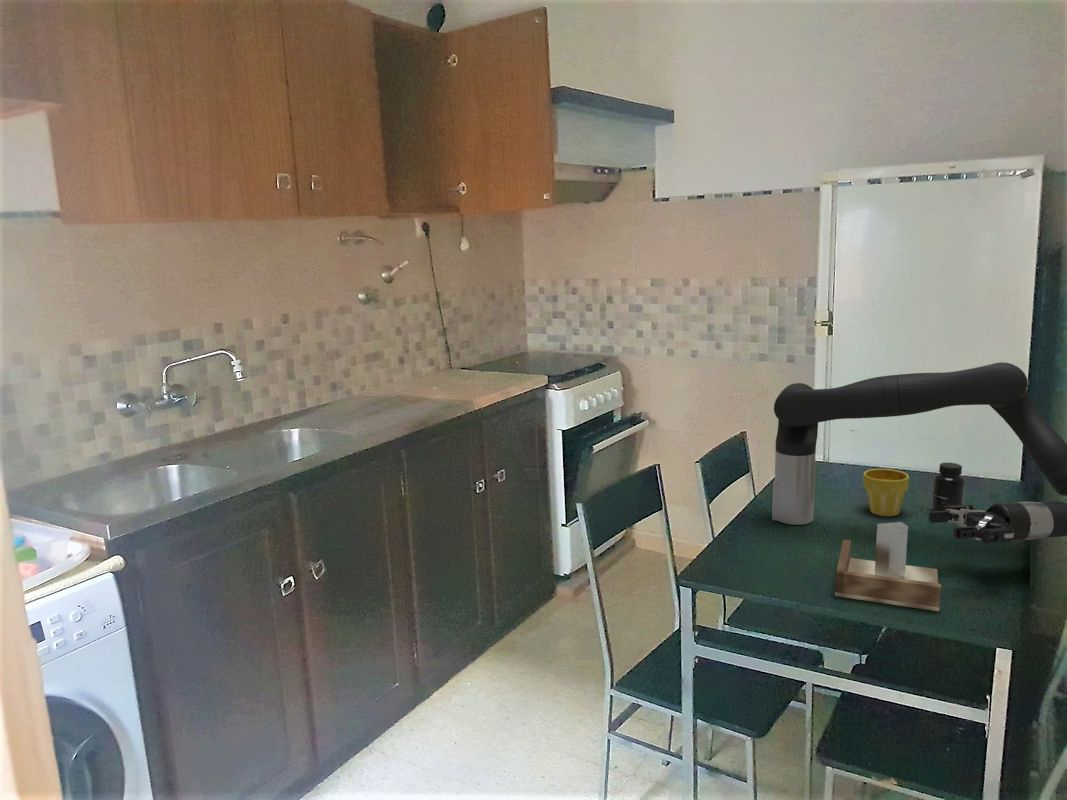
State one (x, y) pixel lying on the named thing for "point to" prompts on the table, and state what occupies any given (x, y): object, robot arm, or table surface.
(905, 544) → the bracket
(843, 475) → the table surface
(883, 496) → the plant pot
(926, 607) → the wooden tray
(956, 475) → the supplement bottle
